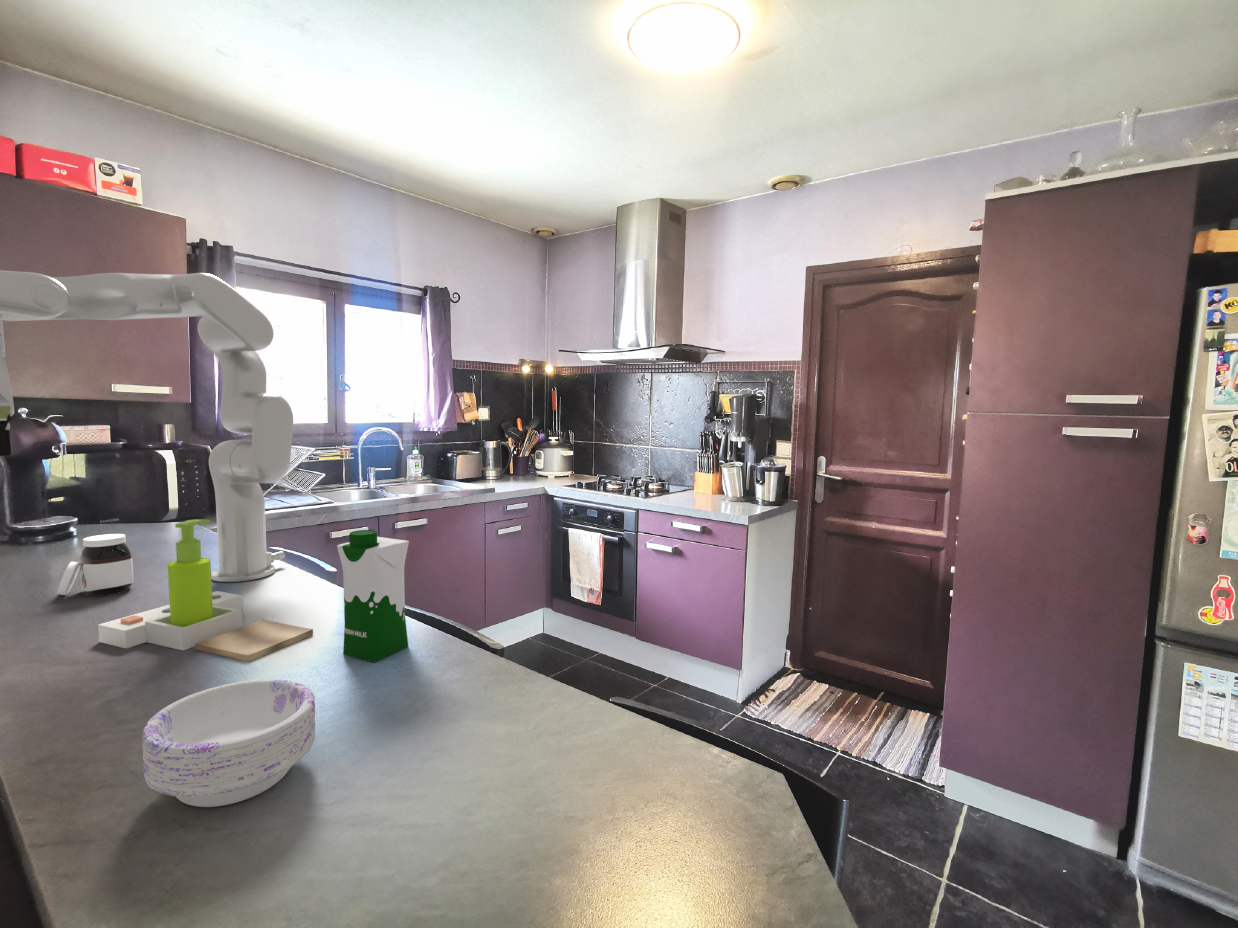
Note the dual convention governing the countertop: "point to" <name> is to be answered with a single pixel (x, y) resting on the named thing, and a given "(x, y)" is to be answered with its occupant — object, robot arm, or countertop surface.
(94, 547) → the spread jar
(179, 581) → the soap dispenser
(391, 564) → the milk carton
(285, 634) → the oak board
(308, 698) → the paper bowls
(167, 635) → the white holder tray
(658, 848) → the countertop surface
